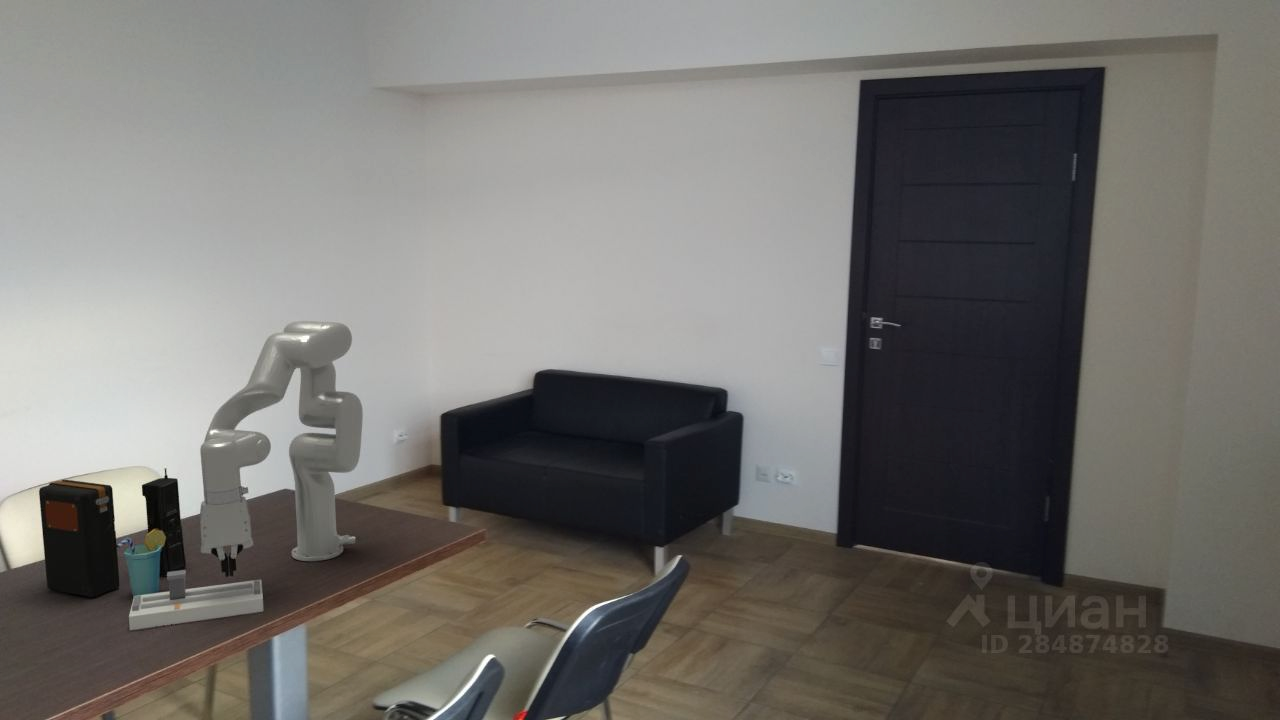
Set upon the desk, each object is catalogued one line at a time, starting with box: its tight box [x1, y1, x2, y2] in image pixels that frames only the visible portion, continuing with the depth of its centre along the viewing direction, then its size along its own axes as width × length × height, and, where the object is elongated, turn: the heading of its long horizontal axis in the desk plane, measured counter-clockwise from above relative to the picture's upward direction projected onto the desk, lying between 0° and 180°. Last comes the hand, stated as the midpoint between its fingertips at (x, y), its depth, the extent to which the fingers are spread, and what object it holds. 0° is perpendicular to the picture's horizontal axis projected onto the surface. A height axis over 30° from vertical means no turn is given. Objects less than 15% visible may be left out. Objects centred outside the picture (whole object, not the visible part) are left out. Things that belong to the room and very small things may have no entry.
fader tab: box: [166, 569, 187, 600], centre depth 206 cm, size 4×3×6 cm
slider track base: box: [128, 579, 264, 631], centre depth 209 cm, size 26×12×4 cm, turn 113°
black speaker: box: [38, 479, 121, 598], centre depth 218 cm, size 16×9×25 cm, turn 71°
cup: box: [116, 529, 166, 598], centre depth 216 cm, size 14×8×15 cm, turn 171°
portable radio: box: [141, 468, 187, 577], centre depth 229 cm, size 8×6×25 cm
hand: (229, 574), depth 211 cm, fingers closed
